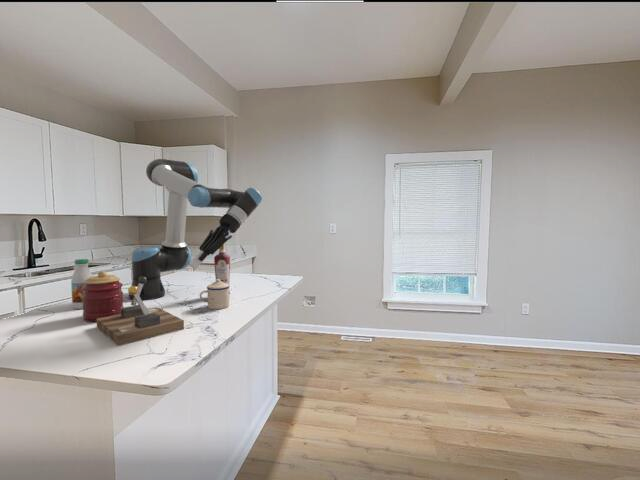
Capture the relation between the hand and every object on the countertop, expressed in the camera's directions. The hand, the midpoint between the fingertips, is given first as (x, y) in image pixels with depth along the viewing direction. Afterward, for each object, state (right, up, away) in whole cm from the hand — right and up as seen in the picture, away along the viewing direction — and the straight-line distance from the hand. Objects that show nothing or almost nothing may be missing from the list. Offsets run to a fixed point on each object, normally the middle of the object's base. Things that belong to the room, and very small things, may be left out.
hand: (192, 266), depth 118 cm
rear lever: (-21, -14, -1) cm, 25 cm away
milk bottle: (-53, -19, +20) cm, 60 cm away
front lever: (-11, -15, -10) cm, 21 cm away
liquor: (-1, -17, +39) cm, 43 cm away
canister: (-36, -20, +7) cm, 42 cm away
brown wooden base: (-16, -21, -5) cm, 27 cm away
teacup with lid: (+1, -19, +21) cm, 28 cm away
